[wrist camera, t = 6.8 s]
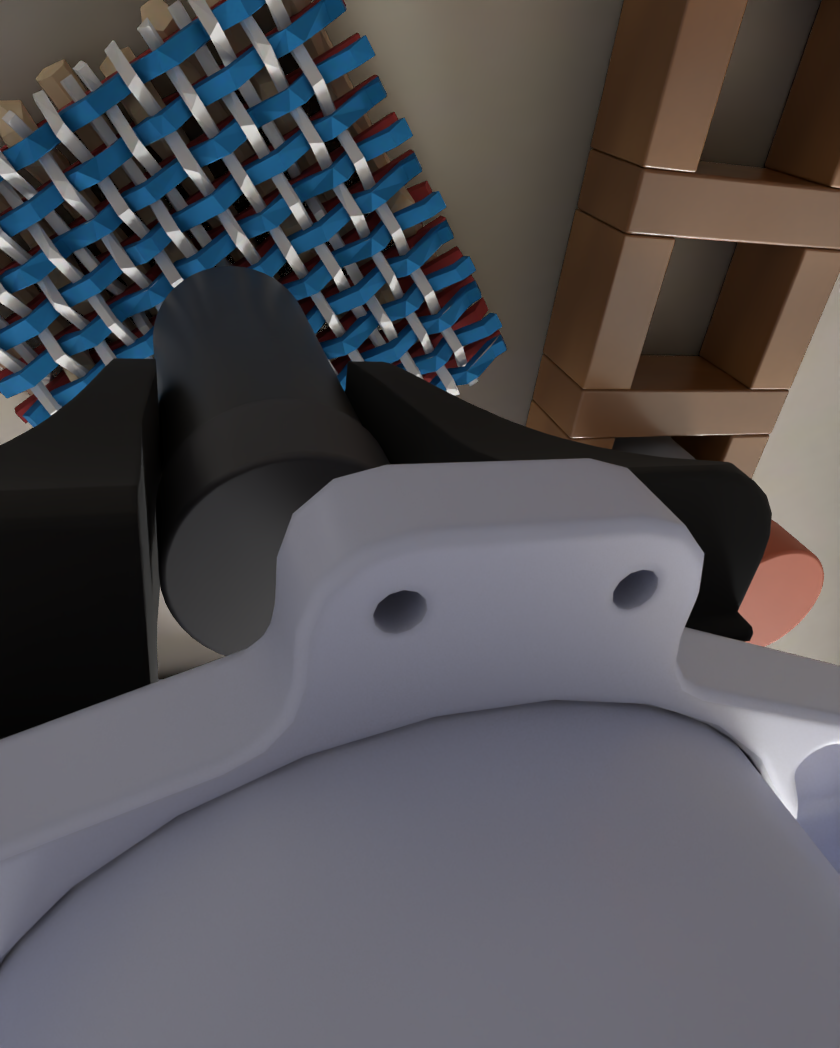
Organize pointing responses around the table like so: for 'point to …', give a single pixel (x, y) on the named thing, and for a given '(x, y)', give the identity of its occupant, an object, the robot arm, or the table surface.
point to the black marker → (241, 446)
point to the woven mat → (224, 203)
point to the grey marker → (782, 574)
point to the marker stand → (696, 213)
